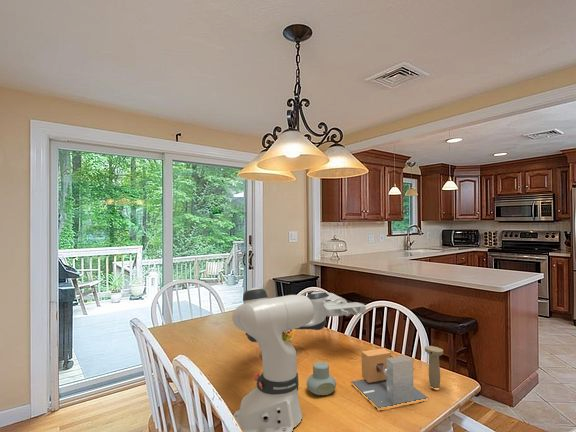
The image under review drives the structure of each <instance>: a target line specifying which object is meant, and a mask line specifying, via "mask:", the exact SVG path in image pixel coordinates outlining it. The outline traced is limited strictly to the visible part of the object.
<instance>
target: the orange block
mask: <svg viewBox="0 0 576 432" xmlns="http://www.w3.org/2000/svg"><path fill="white" fill-rule="evenodd" d="M391 356H392V353H391V352H390V351H389V350H387V349H386V348H384V347H383V348H377V349H369V350H363V351H362V350H361V377H362V378H363V379H365V380H366V381H367V382H368V383H371V382H376V381H382V380H387V377H386V376H384V375H383V374H382V373H381V372H380V371H378V370H377V369H376V365H377V364H381V365H382V366H384V367H385V368H386V358H391Z"/></svg>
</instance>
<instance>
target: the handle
mask: <svg viewBox="0 0 576 432" xmlns="http://www.w3.org/2000/svg"><path fill="white" fill-rule="evenodd" d="M424 352H425V353H426V354H428V356H429V357H428V381H429V387H430V386H431V387H433V388H439V387H441V386H440V384H441V369H440V367H441V366H440V356H442V355H444V349H443V348H440V347H438V346H433V345H425V346H424Z"/></svg>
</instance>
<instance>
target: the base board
mask: <svg viewBox="0 0 576 432" xmlns="http://www.w3.org/2000/svg"><path fill="white" fill-rule="evenodd" d="M351 383H353V384H354V385H355V386H356V387H357V388H358V389H359V390H360V391H361V392H362V393H363V394H364V395H365V396H366V397H368V399H369V400H371V401H372V402H373V403H374V404H375V405H376V406H377V407H378V408H381V407H387V406H393V405H394V404H393V403H392V402H390V401H389V400H388V399H387V380H382V381H376V382H371V383H368V382H367V381H366V380H365V379H364V378H363V379H357V380H352V381H350V384H351ZM426 398H428V399H429V397H428V396H427V395H425V394H424V393H422V392H421V391H420V390H418V389H417V388H416V387H414V401H416V400H421V399H426ZM381 401H382V402H381ZM409 402H411V401H409ZM404 403H407V402H404ZM400 404H401V403H400ZM395 405H397V404H395Z"/></svg>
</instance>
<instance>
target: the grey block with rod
mask: <svg viewBox="0 0 576 432" xmlns="http://www.w3.org/2000/svg"><path fill="white" fill-rule="evenodd" d="M413 368H414V359H412V358H411V357H409V356H407V355H399V356H392V358H386V368H385V367H384V366H382V365H381V364H377V365H376V369H377V370H378V371H380V372H381V373H382V374H383V375H384V376H386V377H387V399H388V400H389V401H390V402H392V403H393V404H394V405H395V404H400V403H404V402H409V401H414V388H415V387H414V370H413Z"/></svg>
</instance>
